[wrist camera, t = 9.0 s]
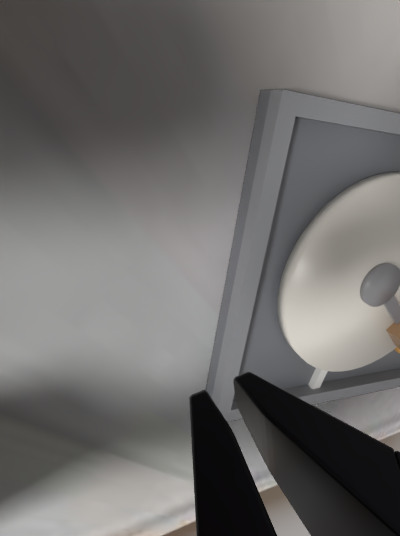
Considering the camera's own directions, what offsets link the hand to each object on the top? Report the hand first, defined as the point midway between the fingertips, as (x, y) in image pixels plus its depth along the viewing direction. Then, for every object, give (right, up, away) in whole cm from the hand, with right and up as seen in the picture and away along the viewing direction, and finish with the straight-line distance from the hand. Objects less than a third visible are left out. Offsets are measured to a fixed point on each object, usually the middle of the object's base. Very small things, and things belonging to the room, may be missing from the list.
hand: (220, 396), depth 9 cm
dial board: (+10, +3, +17) cm, 20 cm away
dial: (+11, +2, +16) cm, 20 cm away
